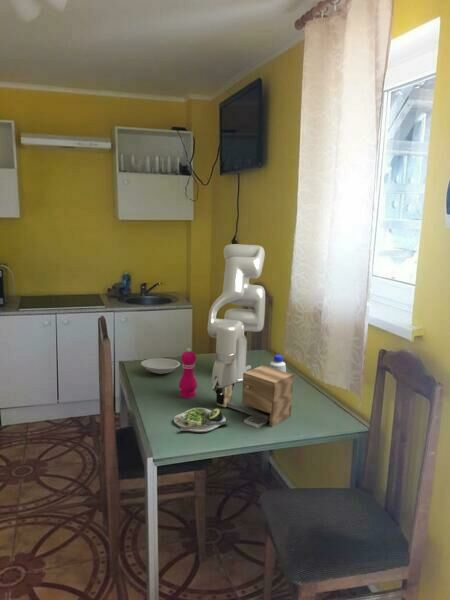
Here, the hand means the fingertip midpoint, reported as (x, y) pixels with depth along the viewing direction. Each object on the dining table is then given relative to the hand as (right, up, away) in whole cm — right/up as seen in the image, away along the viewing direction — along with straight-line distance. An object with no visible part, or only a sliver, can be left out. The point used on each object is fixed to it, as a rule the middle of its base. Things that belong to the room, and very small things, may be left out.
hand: (223, 401), depth 194 cm
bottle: (+20, -2, +5) cm, 21 cm away
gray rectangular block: (+12, -5, -13) cm, 18 cm away
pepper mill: (-15, 0, +9) cm, 17 cm away
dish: (-29, +6, +33) cm, 44 cm away
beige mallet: (+7, -3, -6) cm, 10 cm away
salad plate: (-8, -5, -14) cm, 17 cm away
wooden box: (+16, -4, -7) cm, 18 cm away
